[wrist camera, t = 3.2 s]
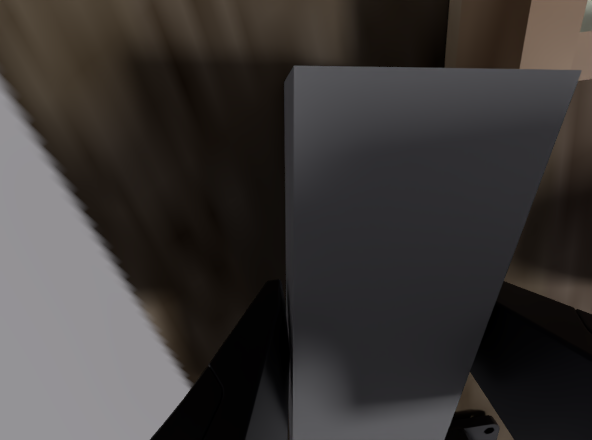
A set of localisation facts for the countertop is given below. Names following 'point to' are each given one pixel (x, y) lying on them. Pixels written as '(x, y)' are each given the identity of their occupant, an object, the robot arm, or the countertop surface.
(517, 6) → the divided wooden tray
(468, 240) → the bar
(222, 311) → the countertop surface
